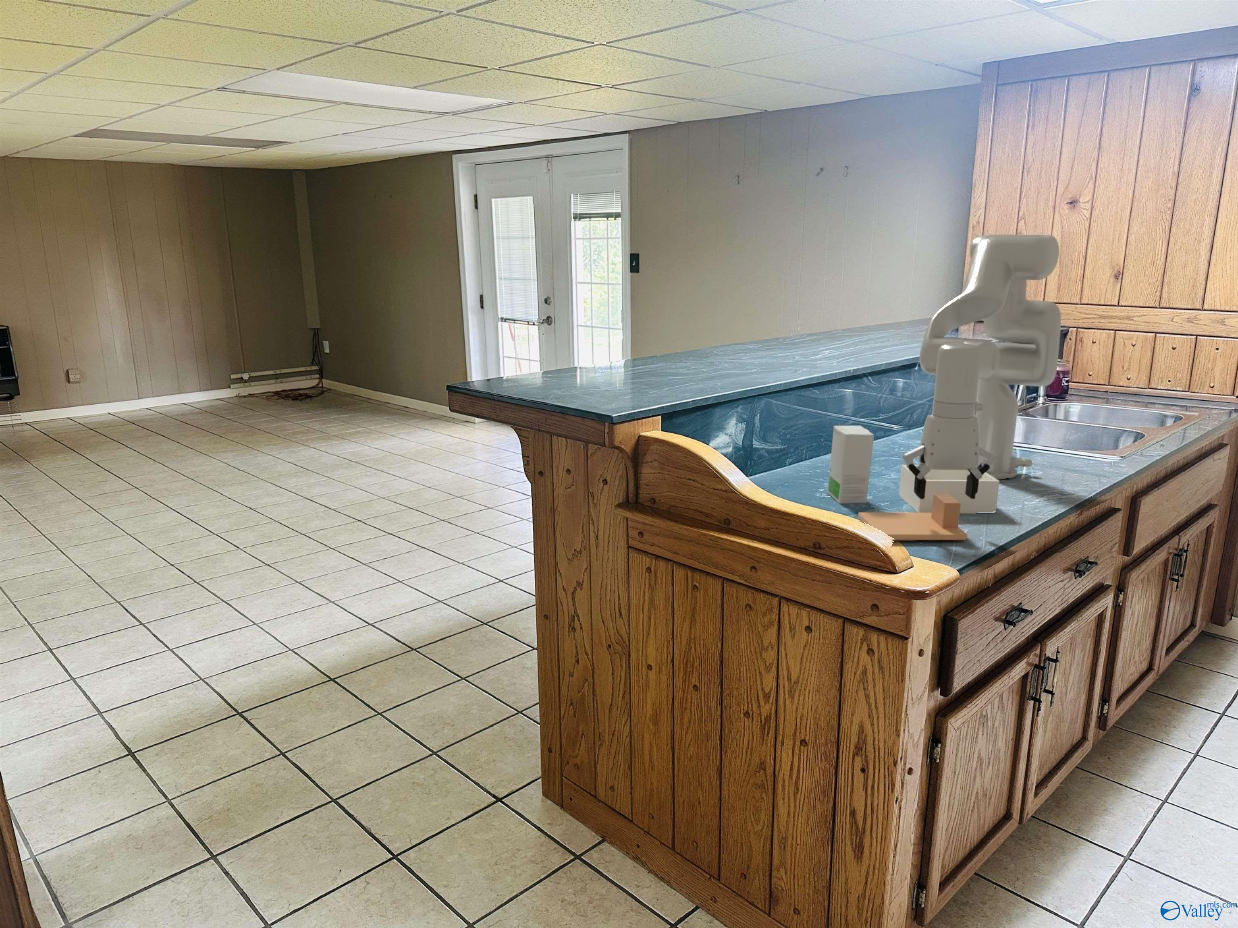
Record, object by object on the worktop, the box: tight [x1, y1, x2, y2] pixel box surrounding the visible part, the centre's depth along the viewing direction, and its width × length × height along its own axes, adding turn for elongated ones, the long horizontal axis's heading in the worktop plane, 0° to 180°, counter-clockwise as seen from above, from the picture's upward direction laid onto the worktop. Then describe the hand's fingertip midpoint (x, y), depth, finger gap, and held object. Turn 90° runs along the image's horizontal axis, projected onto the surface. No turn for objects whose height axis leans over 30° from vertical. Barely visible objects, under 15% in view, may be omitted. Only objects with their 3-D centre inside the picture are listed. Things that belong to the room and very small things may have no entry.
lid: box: [858, 494, 968, 542], centre depth 166 cm, size 17×14×7 cm
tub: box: [898, 464, 1000, 514], centre depth 183 cm, size 16×13×7 cm
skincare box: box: [827, 425, 875, 505], centre depth 186 cm, size 8×7×16 cm
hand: (944, 496), depth 165 cm, fingers open, 9 cm apart
